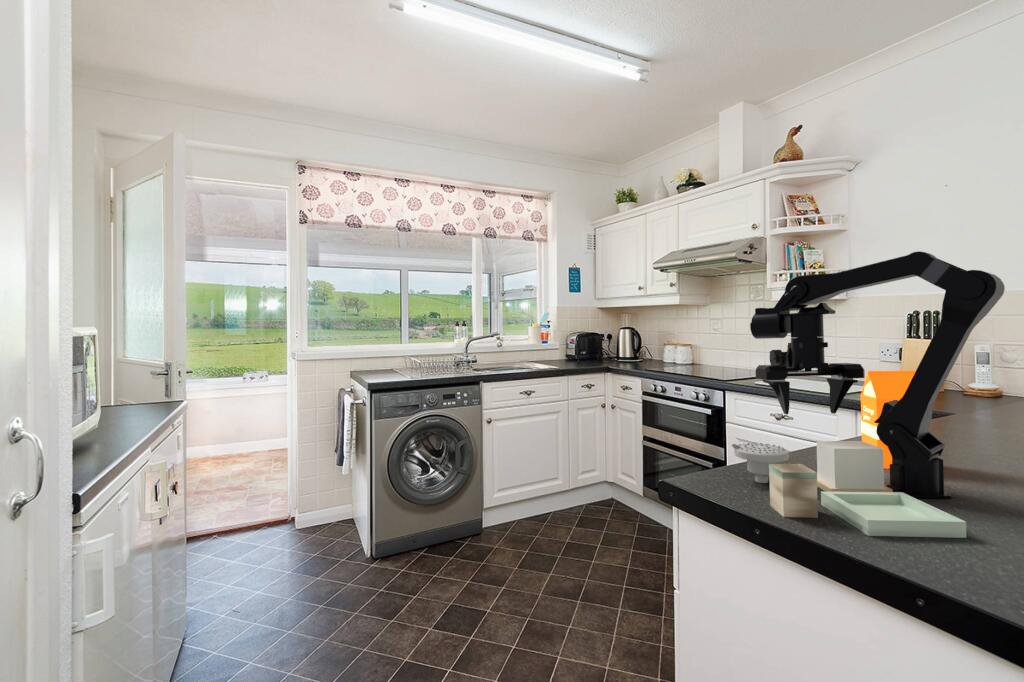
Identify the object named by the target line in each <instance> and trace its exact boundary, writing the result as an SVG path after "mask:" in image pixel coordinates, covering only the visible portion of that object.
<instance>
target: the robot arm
mask: <svg viewBox="0 0 1024 682" xmlns="http://www.w3.org/2000/svg"><path fill="white" fill-rule="evenodd" d="M914 277H918V278H920V279H922V280H924V281H925V282H928V283H930V284H931V285H933V286H935V287H938V288H940V289H942V290H944V291H945V293H944V297H943V300H942V307H941V315H940V316H941V318H940V321H939V324H938V326H937V328H936V330H935V332H934V334H933V336H932V338H931V340H930V342H929V344H928V346H927V348H926V350H925V352H924V355H923V356H922V358H921V360H920V362H919V364H918V366H917V367H916V370H915V374H914V376H913V378H912V380H911V382H910V384H909V386H908V388H907V390H906V392H905V394H904V395H903V397H902V398H901V399H900V400H899V401H898V400H892V401H889V402H885V403H884V405H883V408H882V412H881V415H880V417H879V418H878V419H877V420H876V421H874V423H879V424H878V426H877V429H876V434H877V435H878V437H879V439H880V440H881V441H882V442H883V444H885V445H886V446H887V447H888V449H889V451H890V453H891V456H892V464H890V469H889V483H886V487H888V488H890V489H893V491H895V492H903V493H905V494H907V495H909V496H911V497H914V498H916V499H917V498H919V499H925V498H926V499H927V498H928V499H953V497H952V496H953V495H952V494H950V493H948V492H945V477H944V475H945V474H944V473H945V472H944V469H945V468H944V459H942V458H939V457H940V456H941V455H942V454H943V451H944V450H945V448H946V445H945V444H944V443H943V441H941V440H940V439H939V438H937V437H936V436H935V435H933V433H932V432H930V427H931V423H932V420H933V419H932V418H933V409H934V403H935V401H936V399H937V397H938V395H939V393H940V391H941V390H942V388H943V385H944V384H945V382H946V380H947V378H948V376H949V374H950V373H951V371H952V368H953V367H954V365H955V363H956V361H957V360H958V358H959V355H960V353H961V352H962V350H963V348H964V346H965V344H966V343H967V341H968V338H969V336H970V335H971V333H972V331H973V330H974V328H975V327H976V326H977V325H978V324H979V323H981V321H982V320H983V319H984V318H985V317H986V316H987V315H988V314H989V313H990V311H991V310H993V308H994V307H995V306H996V304H997V303H998V302H999V300H1000V299H1001V298H1002V297H1003V295H1004V293H1005V284H1004V282H1003V281H1002V279H1001V278H1000V277H999V276H998V275H996V274H993V273H990V272H987V271H984V270H981V269H980V270H979V269H978V270H977V269H969V270H966V269H964V268H962V267H959V266H957V265H954V264H953V263H949V262H947V261H944V260H943V259H940V258H937V257H936V256H935V255H934V254H932V253H929V252H925V251H919V250H918V251H913V252H911V253H909V254H907V255H903V256H899V257H894V258H891V259H887V260H883V261H879V262H875V263H872V264H867V265H863V266H857V267H856V268H855V267H854V268H851V269H847V270H842V271H839V272H832V273H815V274H814V273H813V274H806V275H798V276H797V275H796V276H794V277H792V278H790V279H789V280H788V282H787V283H786V285H785V288H784V293H783V294H782V296H781V297H780V298H779V300H778V301H777V303H776V304H775V305H774V307H757V308H756V307H755V309H754V311H755V312H754V314H753V315H752V318H751V322H750V323H749V324H750V325H749V328H750V329H749V330H750V333H751V335H752V337H754V339H757V340H758V339H759V340H760V339H784V338H786V337H787V336H788V334H790V342H788V343H787V350H786V351H782V349H771V350H770V351H769V363H770V364H760V365H759V364H758V366H757V367H756V369H755V379H759V380H761V381H762V383H766V384H768V385H769V387H770V388H771V389H772V390H773V392H774V394H775V396H776V398H777V400H778V403H779V405H780V407H781V411H782V412H783V414H784V415H789V413H790V412H789V411H790V385H791V384H790V381H787V380H786V379H787V378H788V377H809V376H810V377H819V376H820V377H821V376H823V377H824V376H825V377H826V376H830V377H826V381H827V384H828V386H829V409H830V413H831V414H834V415H835V414H836V413H837V412H838V410H839V408H840V406H841V404H842V402H843V400H844V399H845V396H846V395H847V393H848V392H849V390H850V389H851V387H852V386H853V385H854V384H855V383H856V384H857V383H858V382H859V380H858V379H866V377H865V368H864V367H863V366H862V364H860V363H852V362H836V363H835V362H831V363H829V362H825V361H826V360H825V348H829V342H828V341H825V337H824V334H825V333H824V332H825V331H824V315H835V314H836V310H835V309H833V308H831V307H830V306H829V305H828V304H827V303H826V302H825V301H828V300H831V299H833V298H835V297H836V296H839V295H841V294H844V293H846V292H850V291H854V290H860V289H864V288H868V287H873V286H878V285H883V284H888V283H891V282H892V283H893V282H895V281H901V280H904V279H911V278H914ZM817 304H818V305H817ZM811 305H816V306H811ZM808 306H810V307H808ZM795 311H798V312H795ZM791 312H795V313H791Z"/></svg>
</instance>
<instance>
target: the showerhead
mask: <svg viewBox="0 0 1024 682" xmlns="http://www.w3.org/2000/svg"><path fill="white" fill-rule="evenodd" d="M730 446H731V447H732V448H733V453H734V456H735V457H737V458H740V459H742V460H746V466H747V468H746V469H747V471H748V472H750V473H752V474H754V480H755V482H756V483H759V484H767V483H768V482H769V478H768V477H769V464H776V463H780V462H781V463H782V462H786V461H788V460H789V455H790V451H789V450H787V448H784V447H781V445H775V444H770V443H762V442H760V443H757V442H752V443H750V442H747V443H739V444H736V443H731V445H730Z"/></svg>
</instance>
